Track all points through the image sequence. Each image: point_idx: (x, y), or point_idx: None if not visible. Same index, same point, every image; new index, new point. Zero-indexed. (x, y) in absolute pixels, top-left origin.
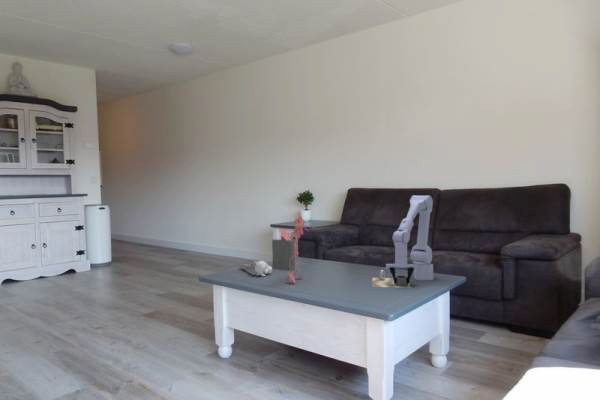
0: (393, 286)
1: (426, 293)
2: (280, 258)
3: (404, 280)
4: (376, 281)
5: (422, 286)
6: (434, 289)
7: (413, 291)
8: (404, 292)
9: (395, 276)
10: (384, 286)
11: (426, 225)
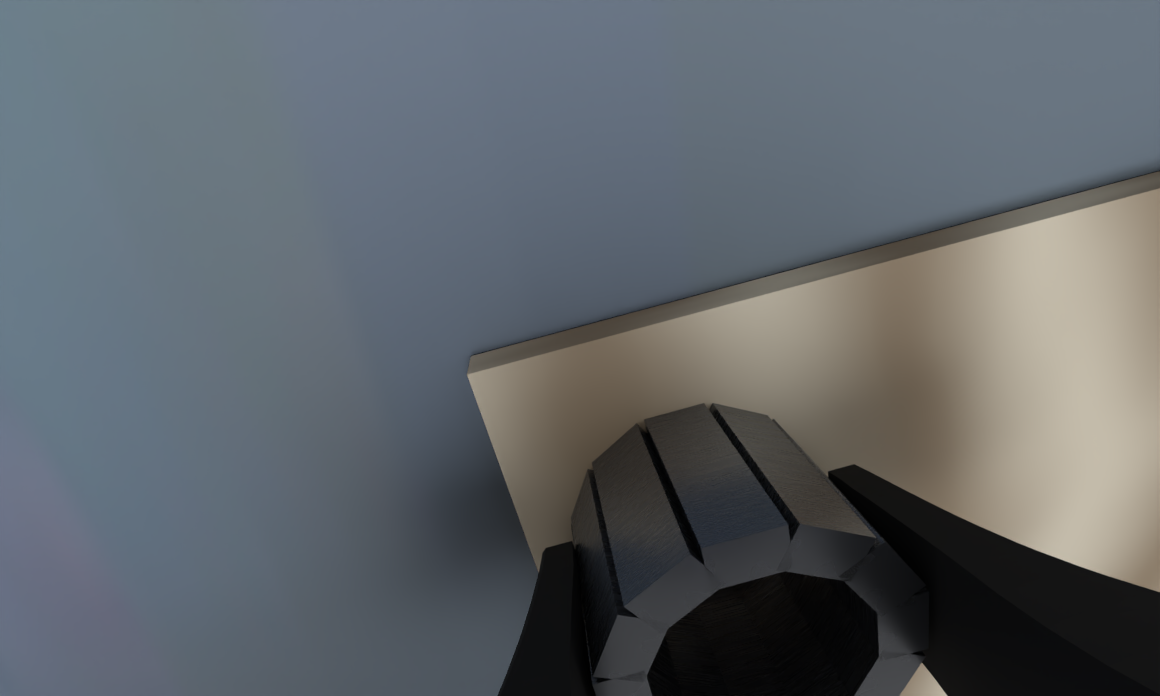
0: (848, 343)
1: (14, 142)
2: None
3: (650, 522)
4: (1134, 580)
5: (336, 650)
6: (35, 544)
7: (379, 234)
8: (555, 57)
9: (923, 646)
10: (1038, 277)
11: None
